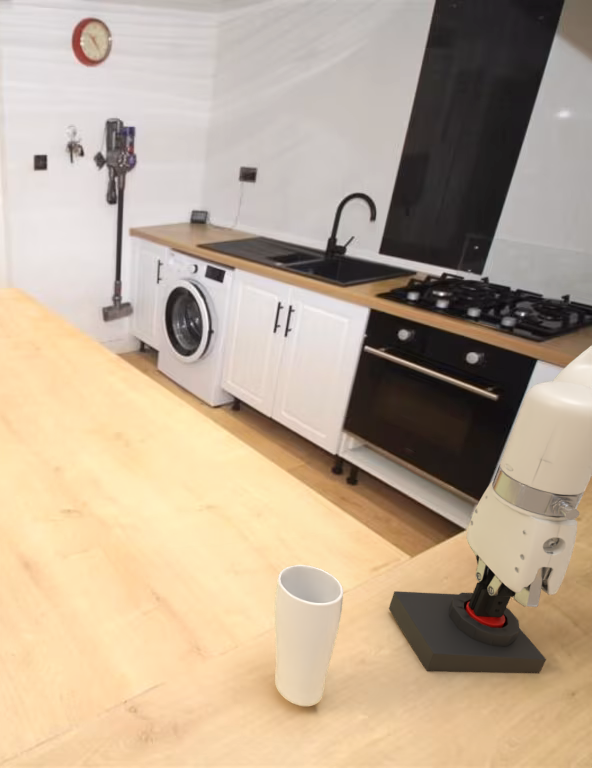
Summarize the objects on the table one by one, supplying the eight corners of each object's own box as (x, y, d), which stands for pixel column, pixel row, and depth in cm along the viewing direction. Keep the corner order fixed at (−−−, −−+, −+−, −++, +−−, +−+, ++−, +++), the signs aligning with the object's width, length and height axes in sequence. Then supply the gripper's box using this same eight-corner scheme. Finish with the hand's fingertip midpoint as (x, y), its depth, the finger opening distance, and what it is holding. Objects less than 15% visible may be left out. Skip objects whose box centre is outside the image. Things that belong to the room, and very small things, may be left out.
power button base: (485, 613, 74) (496, 585, 72) (537, 678, 65) (552, 648, 63) (388, 608, 75) (397, 580, 73) (426, 672, 66) (437, 642, 64)
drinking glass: (324, 725, 59) (339, 613, 54) (261, 698, 63) (270, 591, 58) (333, 680, 64) (348, 575, 60) (275, 658, 68) (284, 557, 63)
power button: (488, 610, 70) (492, 600, 70) (508, 636, 67) (513, 625, 66) (456, 609, 71) (460, 599, 70) (475, 634, 67) (479, 623, 66)
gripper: (627, 535, 54) (560, 665, 61) (523, 456, 67) (478, 571, 75) (549, 531, 54) (491, 661, 61) (461, 454, 68) (422, 568, 75)
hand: (484, 611), depth 68 cm, fingers closed
